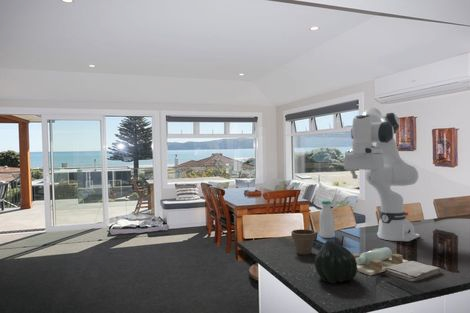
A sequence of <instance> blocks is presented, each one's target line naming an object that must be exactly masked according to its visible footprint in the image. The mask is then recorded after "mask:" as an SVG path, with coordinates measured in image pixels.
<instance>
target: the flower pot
mask: <svg viewBox="0 0 470 313" xmlns="http://www.w3.org/2000/svg"><path fill="white" fill-rule="evenodd" d="M316 232H317V231H315V230H313V229H301V228H300V229H294V230H292V231H291V232H290V233H291V238H293V242H294V245H295V249H296V253H297V254H298V255H304V256H305V255H310V254H312V250H313V246H314V241H315V238H316V237H317V233H316Z"/></svg>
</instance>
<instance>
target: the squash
mask: <svg viewBox="0 0 470 313" xmlns="http://www.w3.org/2000/svg"><path fill="white" fill-rule="evenodd" d="M353 254H354V253H352V252H351V251H350V250H349V249H348V248H346V247H345V246H343V245H342V244H339V243H338V242H334V241H331V240H327V241H325V242H324V244H323V245H322V246H321V248H320V250H319V251H318V252H317V254H316V256H315V259H314V267H315V270H316V273H317V274H318V276H319V277H320V279H321V280H323V281H325V282H329V283H331V284H336V283H338V282H340V283H343V282H349V281H352V280H353V279H354V278H355V277H356V276H357V272H358V271H357V263H356V260H355V258H354V256H353Z"/></svg>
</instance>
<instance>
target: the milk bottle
mask: <svg viewBox="0 0 470 313" xmlns="http://www.w3.org/2000/svg"><path fill="white" fill-rule="evenodd" d="M331 204H332V203H331V200H326V199H324V200H322V201H321V205H322V207H321V210H320V212H319V236H320V238H323V239H331V238H334V237H335V218H334V212H333V210H332V207H331Z"/></svg>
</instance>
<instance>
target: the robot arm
mask: <svg viewBox="0 0 470 313" xmlns="http://www.w3.org/2000/svg"><path fill="white" fill-rule="evenodd" d="M399 127H400V120H399V117H398V116H397V115H396V114H395V113H394V112H388V113H385V114H382V112H381V111H380V110H379V109H378V108H376V107H369V108H366V109H365V110H364V111H363V112H362V113H361V115H356V116H353V118H352V125H351V129H350V130H351V131H350V135H351V139H352V144H351V145H352V146H351V148H352V149H347V150H346V151H345V152H344V160H343V167H344V169H345V170H350V171H349V172H350V174H351V175H352V179H355V180H356V179H358V174H356V172H357V171H356V170H364V171H365V170H366V172H365V180H366V181H367V184H369V185H371V187H373V188H374V189H375V190H376V191H377V193H378V195H379V200H380V203H379V204H380V211H379V218H380V219H379V221H378V228H377V229H378V231H377V232H376V235H377V237H378V239H382V240H387V241H392V242H393V241H394V242H411V241H412V240H413V241H414V240H415V239H418V238H420V234H419V233H416V232H415V226H414V224H412V222H410V221H409V220H408V219H407V217H408V216H409V215H410V214H409V212H408V211H404V198H403V196H402V195H401V194H399V192H395V191H393V190H392V189H391V186H393V187H394V186H396V187H399V186H401V187H402V186H403V187H405V186H412V185H414V184H416V183H417V182H418V179H419V172H418V170H417V169H416V168H417V167H415V166H414V165H411V164H408V163H407V162H405V161H404V160H403V159H402V158H401V157H400V153H399V149H398V145H397V142H396V140H395V138H394V137H395V136H394V135H396V134H397V131H398V130H399ZM373 143H376V146H375V145H373ZM406 216H407V217H406Z"/></svg>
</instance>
